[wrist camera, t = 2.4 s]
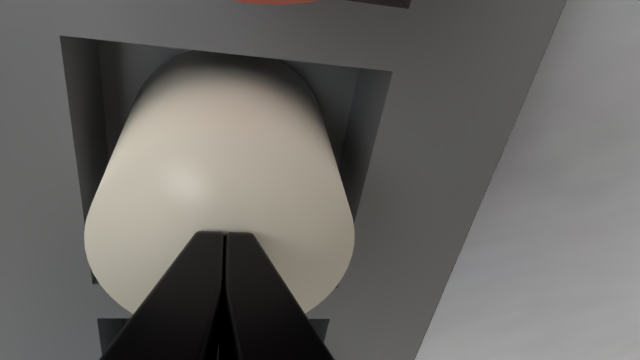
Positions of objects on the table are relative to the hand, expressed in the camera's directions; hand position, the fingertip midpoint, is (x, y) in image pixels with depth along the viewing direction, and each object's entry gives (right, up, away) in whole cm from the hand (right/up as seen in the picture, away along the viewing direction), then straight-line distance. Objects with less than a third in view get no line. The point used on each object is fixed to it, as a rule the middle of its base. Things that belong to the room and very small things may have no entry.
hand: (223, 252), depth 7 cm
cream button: (0, +2, +3) cm, 3 cm away
